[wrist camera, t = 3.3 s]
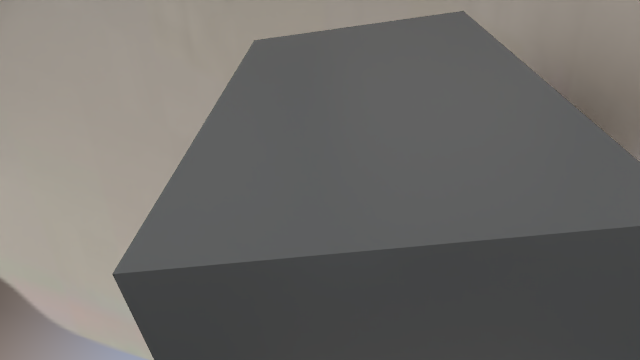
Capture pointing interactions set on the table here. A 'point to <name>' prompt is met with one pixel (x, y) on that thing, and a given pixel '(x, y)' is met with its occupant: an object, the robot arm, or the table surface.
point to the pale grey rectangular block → (391, 210)
